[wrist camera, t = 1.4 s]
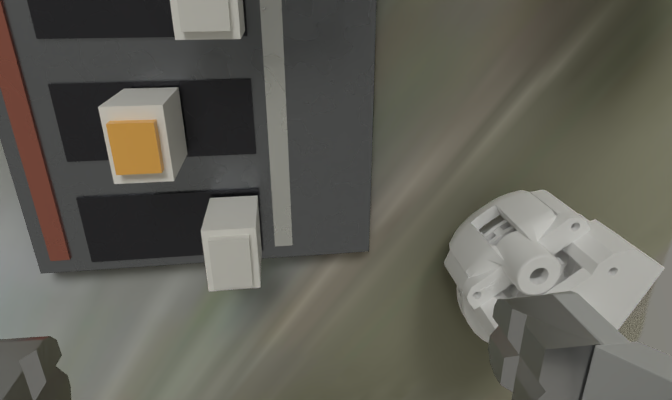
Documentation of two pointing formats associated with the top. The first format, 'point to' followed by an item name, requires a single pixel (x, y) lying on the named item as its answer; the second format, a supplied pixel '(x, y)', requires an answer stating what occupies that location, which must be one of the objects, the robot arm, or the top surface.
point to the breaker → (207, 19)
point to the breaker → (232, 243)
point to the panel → (189, 127)
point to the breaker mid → (144, 134)
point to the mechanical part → (543, 259)
